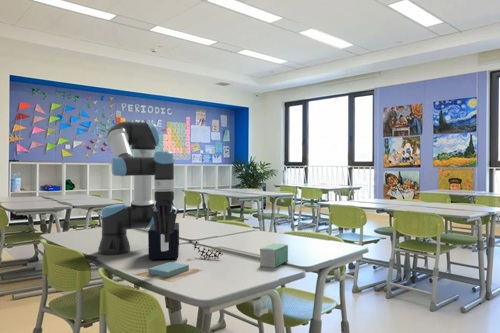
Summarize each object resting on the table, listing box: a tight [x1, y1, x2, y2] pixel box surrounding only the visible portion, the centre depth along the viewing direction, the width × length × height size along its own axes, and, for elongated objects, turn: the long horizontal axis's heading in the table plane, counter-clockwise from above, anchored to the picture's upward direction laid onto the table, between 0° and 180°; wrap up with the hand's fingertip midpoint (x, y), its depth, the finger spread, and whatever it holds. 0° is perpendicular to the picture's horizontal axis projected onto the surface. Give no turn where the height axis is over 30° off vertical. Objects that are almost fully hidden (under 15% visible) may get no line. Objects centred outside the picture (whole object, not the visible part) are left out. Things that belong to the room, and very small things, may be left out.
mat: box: [133, 267, 204, 283], centre depth 151 cm, size 20×18×1 cm
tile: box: [147, 261, 190, 277], centre depth 151 cm, size 2×12×10 cm
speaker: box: [147, 222, 180, 261], centre depth 180 cm, size 22×13×15 cm, turn 9°
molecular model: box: [191, 239, 224, 260], centre depth 176 cm, size 6×15×8 cm, turn 72°
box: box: [259, 243, 289, 269], centre depth 166 cm, size 7×14×8 cm, turn 152°
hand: (164, 250), depth 152 cm, fingers closed
